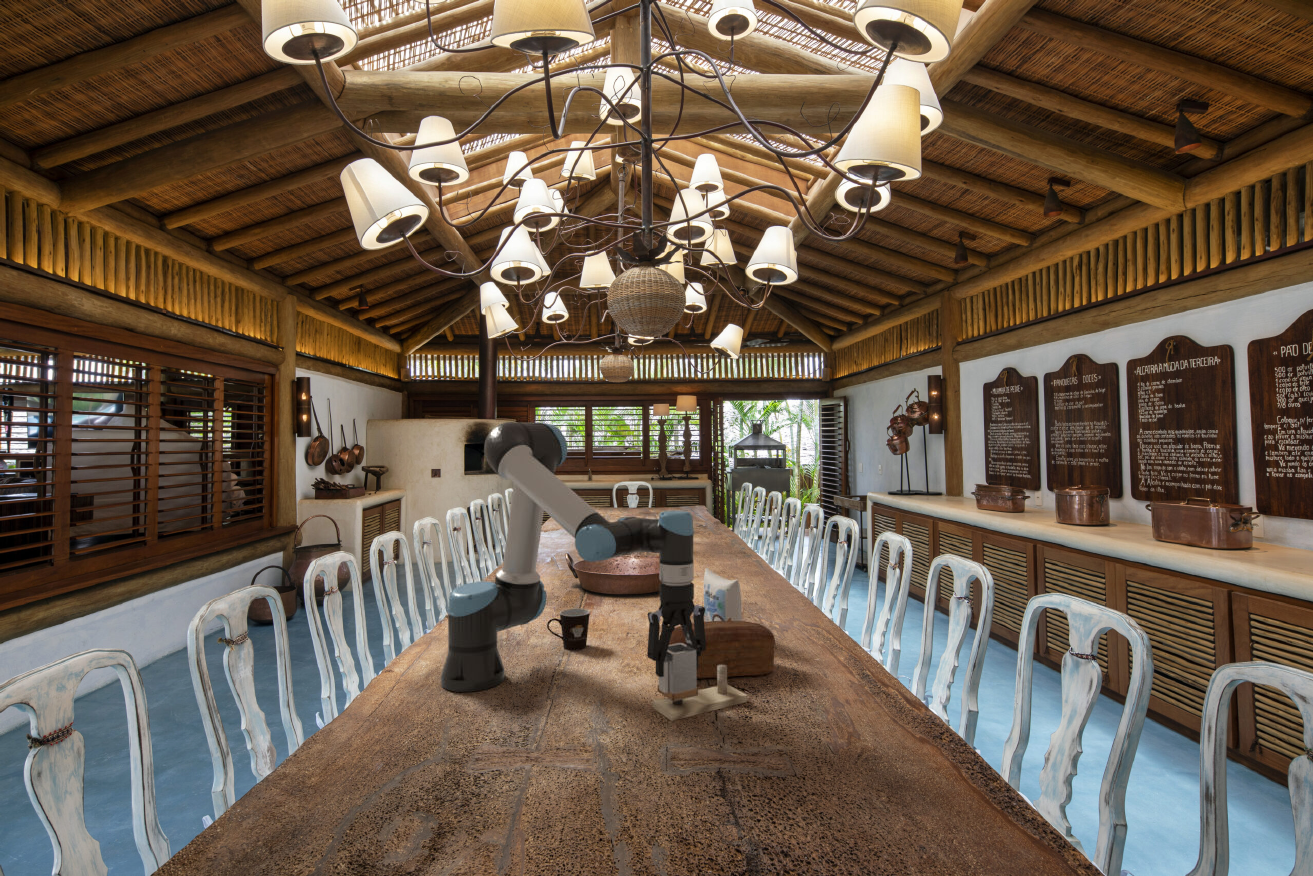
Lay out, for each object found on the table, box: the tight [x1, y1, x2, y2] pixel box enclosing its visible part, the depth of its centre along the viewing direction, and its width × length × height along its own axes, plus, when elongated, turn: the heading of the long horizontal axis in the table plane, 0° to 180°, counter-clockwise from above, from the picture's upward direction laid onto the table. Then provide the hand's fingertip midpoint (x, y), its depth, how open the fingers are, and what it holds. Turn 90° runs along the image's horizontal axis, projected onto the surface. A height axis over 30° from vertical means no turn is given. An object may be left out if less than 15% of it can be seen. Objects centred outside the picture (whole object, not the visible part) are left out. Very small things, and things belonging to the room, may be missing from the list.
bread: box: [669, 620, 776, 680], centre depth 167 cm, size 14×28×12 cm, turn 99°
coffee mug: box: [546, 608, 591, 652], centre depth 188 cm, size 12×9×10 cm
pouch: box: [703, 567, 743, 622], centre depth 193 cm, size 8×19×20 cm, turn 20°
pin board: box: [652, 665, 748, 722], centre depth 146 cm, size 20×8×8 cm, turn 120°
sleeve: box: [657, 643, 699, 702], centre depth 143 cm, size 6×6×10 cm
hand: (677, 687), depth 143 cm, fingers closed on sleeve, 6 cm apart
